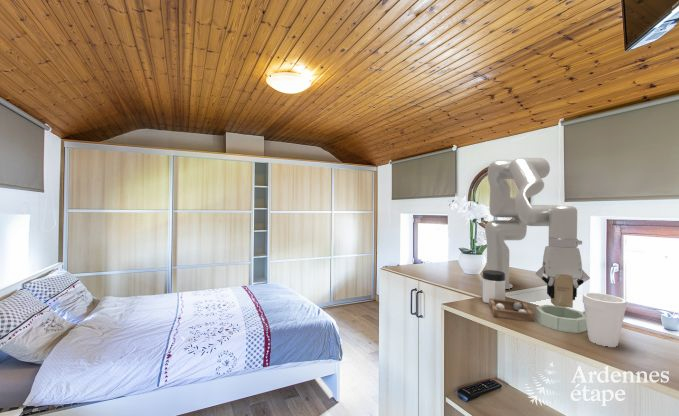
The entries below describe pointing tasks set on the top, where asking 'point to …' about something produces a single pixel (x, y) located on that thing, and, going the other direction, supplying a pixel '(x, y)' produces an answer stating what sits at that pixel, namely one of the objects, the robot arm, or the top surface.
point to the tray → (511, 314)
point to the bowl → (561, 318)
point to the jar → (493, 285)
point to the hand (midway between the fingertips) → (561, 297)
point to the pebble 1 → (500, 306)
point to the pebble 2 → (517, 306)
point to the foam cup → (604, 318)
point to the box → (563, 290)
